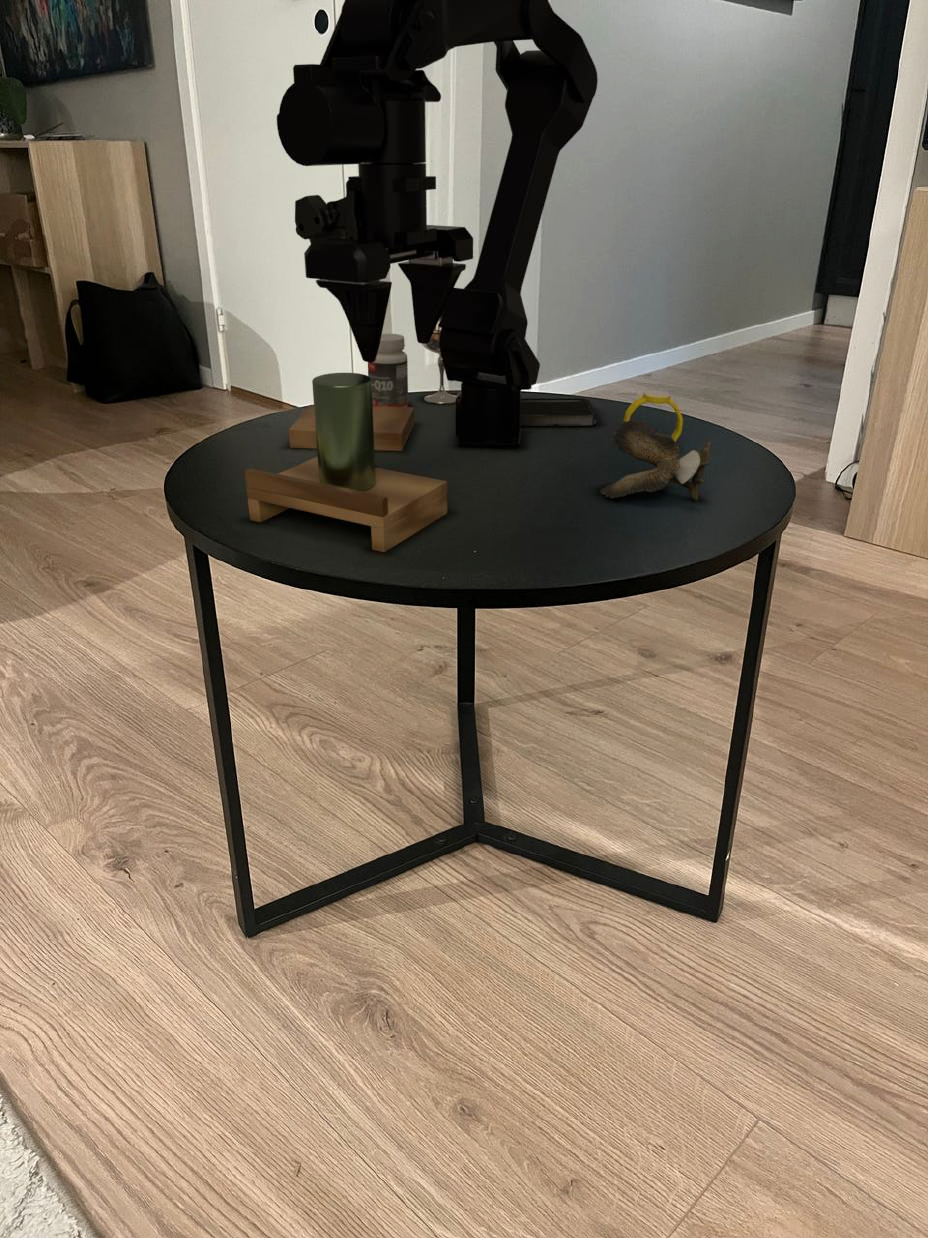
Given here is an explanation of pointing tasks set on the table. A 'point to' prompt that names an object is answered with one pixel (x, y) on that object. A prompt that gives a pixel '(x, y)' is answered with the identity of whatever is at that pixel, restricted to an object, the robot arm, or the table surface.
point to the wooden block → (387, 425)
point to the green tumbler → (344, 430)
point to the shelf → (351, 500)
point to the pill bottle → (389, 373)
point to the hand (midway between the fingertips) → (397, 351)
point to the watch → (657, 398)
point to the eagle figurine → (656, 461)
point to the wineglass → (433, 346)
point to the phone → (557, 412)
